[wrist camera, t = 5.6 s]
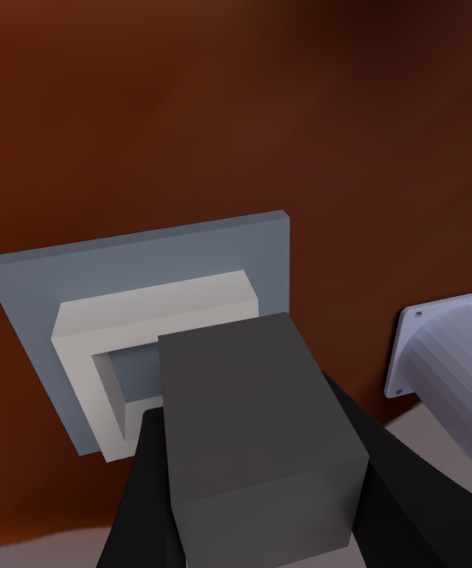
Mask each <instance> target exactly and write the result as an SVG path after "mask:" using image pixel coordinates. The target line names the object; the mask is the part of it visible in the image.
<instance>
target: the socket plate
mask: <svg viewBox="0 0 472 568" xmlns="http://www.w3.org/2000/svg"><path fill="white" fill-rule="evenodd" d="M289 242H290V217H289V216H288V215H287V214H286V213H285V212H284V211H283V210H278V211H271V212H265V213H259V214H253V215H246V216H240V217H234V218H228V219H221V220H215V221H209V222H203V223H196V224H190V225H184V226H177V227H171V228H165V229H159V230H152V231H146V232H140V233H134V234H127V235H121V236H115V237H109V238H102V239H96V240H90V241H84V242H77V243H71V244H65V245H59V246H52V247H46V248H40V249H33V250H27V251H21V252H15V253H8V254H2V255H0V302H1V304H2V306H3V308H4V310H5V312H6V314H7V316H8V318H9V320H10V322H11V324H12V326H13V327H14V329H15V331H16V333H17V335H18V337H19V339H20V341H21V343H22V345H23V347H24V349H25V351H26V353H27V355H28V357H29V359H30V361H31V362H32V364H33V366H34V368H35V370H36V372H37V374H38V376H39V378H40V380H41V382H42V384H43V386H44V388H45V390H46V392H47V394H48V395H49V397H50V399H51V401H52V403H53V405H54V407H55V409H56V411H57V413H58V415H59V417H60V419H61V421H62V423H63V425H64V427H65V428H66V430H67V432H68V434H69V436H70V438H71V440H72V442H73V444H74V446H75V448H76V450H77V452H78V454H79V456H81V455H85V454H89V453H93V452H98V451H102V453H103V455H104V457H105V460H106V462H110V461H114V460H118V459H122V458H126V457H130V456H134V455H135V451H136V447H137V443H138V439H139V434H140V429H141V423H142V416H143V413H144V412H145V411H146V410H148V409H152V408H157V407H161V406H163V396H162V384H161V371H160V359H159V346H158V336H159V335H164V334H170V333H175V332H180V331H186V330H191V329H196V328H202V327H207V326H213V325H218V324H223V323H229V322H234V321H239V320H245V319H250V318H255V317H261V316H266V315H271V314H277V313H282V312H287V313H288V315H289Z"/></svg>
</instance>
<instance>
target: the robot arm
mask: <svg viewBox="0 0 472 568" xmlns="http://www.w3.org/2000/svg"><path fill="white" fill-rule="evenodd" d="M321 372H322V374H323V376H324V377H325V379H326V381H327V383H328V384H329V386H330V388H331V390H332V391H333V393H334V395H335V396H336V398H337V400H338V402H339V403H340V405H341V407H342V409H343V410H344V412H345V414H346V416H347V417H348V419H349V421H350V423H351V424H352V426H353V428H354V430H355V431H356V433H357V435H358V437H359V438H360V440H361V442H362V444H363V445H364V447H365V449H366V451H367V452H368V454H369V460H368V464H367V469H366V473H365V477H364V481H363V485H362V490H361V494H360V498H359V502H358V507H357V511H356V515H355V519H354V523H353V528H352V532H353V535H354V537H355V539H356V541H357V544H358V546H359V549H360V551H361V554H362V557H363V559H364V562H365V564H366V567H367V568H472V493H470V492H469V491H468V490H466V489H465V488H463V487H462V486H460V485H459V484H457V483H455V482H454V481H453V480H451V479H450V478H449V477H447V476H446V475H444V474H443V473H441V472H440V471H439V470H437V469H436V468H434V467H433V466H432V465H430V464H429V463H428V462H426V461H425V460H424V459H423V458H421V457H420V456H419V455H417V454H416V453H415V452H413V451H412V450H411V449H409V447H407V446H406V445H405V444H404V443H402V442H401V441H400V440H399V439H397V438H396V437H395V436H394V435H393V434H391V433H390V432H389V431H388V430H387V429H386V428H384V427H383V426H382V425H381V424H380V423H379V422H378V421H376V420H375V419H374V418H373V417H372V416H371V415H370V414H368V413H367V412H366V411H365V410H364V409H363V408H362V407H361V406H360V405H359V404H358V403H357V402H355V401H354V400H353V399H352V398H351V397H350V396H349V395H348V394H347V393H346V392H345V391H344V390H343V389H342V388H341V387H340V386H339V385H338V384H337V383H336V382H335V381H334V380H333V379H332V378H331V377H330V376H329V375H328V374H327V373H326V372H324V371H321ZM413 392H415V393H416V394H417V395H418V397H419V398H420V399H421V400H422V401H423V403H424V404H425V405H426V406H427V408H428V409H429V410H430V411H431V413H432V414H433V415H434V416H435V417H436V419H437V420H438V421H439V422H440V424H441V425H442V426H443V427H444V428H445V430H446V431H447V432H448V433H449V435H450V436H451V437H452V438H453V440H454V441H455V442H456V443H457V445H458V446H459V447H460V448H461V449H462V451H463V452H464V453H465V454H466V456H467V457H468V458H469V459H470V461H471V462H472V293H471V294H467V295H462V296H457V297H452V298H448V299H443V300H438V301H433V302H429V303H424V304H419V305H414V306H410V307H407V308H405V309H403V310H402V312H401V314H400V318H399V322H398V327H397V332H396V336H395V341H394V346H393V350H392V355H391V360H390V365H389V369H388V374H387V379H386V383H385V388H384V394H385V395H386V397H387V398H393V397H397V396H401V395H405V394H409V393H413ZM96 568H186V556H185V553H184V549H183V546H182V542H181V539H180V535H179V532H178V528H177V525H176V522H175V518H174V515H173V511H172V508H171V496H170V484H169V471H168V459H167V446H166V434H165V421H164V409H163V406H161V407H157V408H152V409H148V410H146V411H145V412H144V413H143V416H142V423H141V429H140V434H139V439H138V443H137V447H136V451H135V455H134V459H133V463H132V466H131V470H130V473H129V477H128V480H127V484H126V487H125V490H124V493H123V496H122V499H121V502H120V505H119V508H118V511H117V514H116V517H115V519H114V522H113V525H112V528H111V531H110V534H109V536H108V539H107V541H106V544H105V546H104V549H103V551H102V554H101V556H100V559H99V561H98V564H97V566H96Z"/></svg>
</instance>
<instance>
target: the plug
mask: <svg viewBox="0 0 472 568" xmlns="http://www.w3.org/2000/svg"><path fill="white" fill-rule="evenodd" d="M158 346H159V359H160V371H161V384H162V396H163V409H164V421H165V434H166V446H167V459H168V471H169V484H170V496H171V508H172V511H173V515H174V518H175V522H176V525H177V528H178V532H179V535H180V539H181V542H182V546H183V549H184V553H185V556H186V560H187V563H188V566H189V568H277V567H280V566H283V565H287V564H290V563H293V562H297V561H300V560H303V559H307V558H310V557H313V556H316V555H320V554H323V553H326V552H330V551H333V550H337V549H340V548H343V547H347V546H348V544H349V540H350V536H351V532H352V528H353V523H354V519H355V515H356V511H357V507H358V502H359V498H360V494H361V490H362V485H363V481H364V477H365V473H366V469H367V464H368V460H369V454H368V452H367V451H366V449H365V447H364V445H363V444H362V442H361V440H360V438H359V437H358V435H357V433H356V431H355V430H354V428H353V426H352V424H351V423H350V421H349V419H348V417H347V416H346V414H345V412H344V410H343V409H342V407H341V405H340V403H339V402H338V400H337V398H336V396H335V395H334V393H333V391H332V390H331V388H330V386H329V384H328V383H327V381H326V379H325V377H324V376H323V374H322V372H321V370H320V369H319V367H318V365H317V363H316V362H315V360H314V358H313V356H312V355H311V353H310V351H309V349H308V348H307V346H306V344H305V342H304V341H303V339H302V337H301V335H300V334H299V332H298V330H297V328H296V327H295V325H294V323H293V322H292V320H291V318H290V316H289V315H288V313H287V312H282V313H277V314H271V315H266V316H261V317H255V318H250V319H245V320H239V321H234V322H229V323H223V324H218V325H213V326H207V327H202V328H196V329H191V330H186V331H180V332H175V333H170V334H164V335H159V336H158Z"/></svg>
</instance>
